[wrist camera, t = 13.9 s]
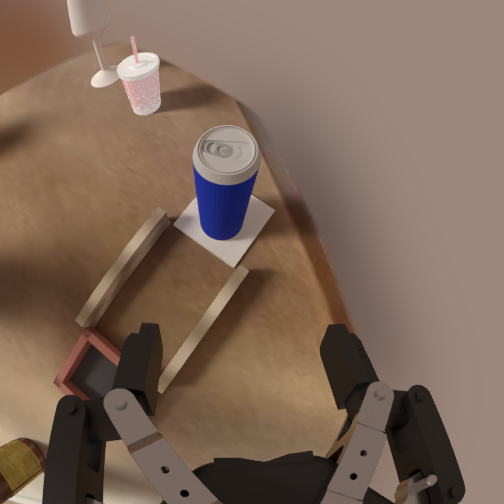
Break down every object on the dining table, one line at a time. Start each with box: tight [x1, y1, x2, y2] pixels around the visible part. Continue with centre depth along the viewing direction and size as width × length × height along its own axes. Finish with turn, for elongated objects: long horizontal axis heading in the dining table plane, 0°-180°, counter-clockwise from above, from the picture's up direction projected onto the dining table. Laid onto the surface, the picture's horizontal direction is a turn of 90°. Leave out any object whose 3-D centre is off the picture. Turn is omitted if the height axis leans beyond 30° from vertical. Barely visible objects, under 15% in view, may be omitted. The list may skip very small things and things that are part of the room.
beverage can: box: [193, 125, 261, 240], centre depth 26 cm, size 5×5×15 cm
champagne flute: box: [67, 0, 119, 87], centre depth 27 cm, size 7×7×24 cm
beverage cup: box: [117, 36, 161, 115], centre depth 31 cm, size 6×6×14 cm
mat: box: [173, 194, 275, 268], centre depth 34 cm, size 9×9×1 cm
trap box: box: [53, 327, 122, 401], centre depth 26 cm, size 9×10×2 cm
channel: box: [75, 207, 249, 394], centre depth 29 cm, size 16×12×4 cm
